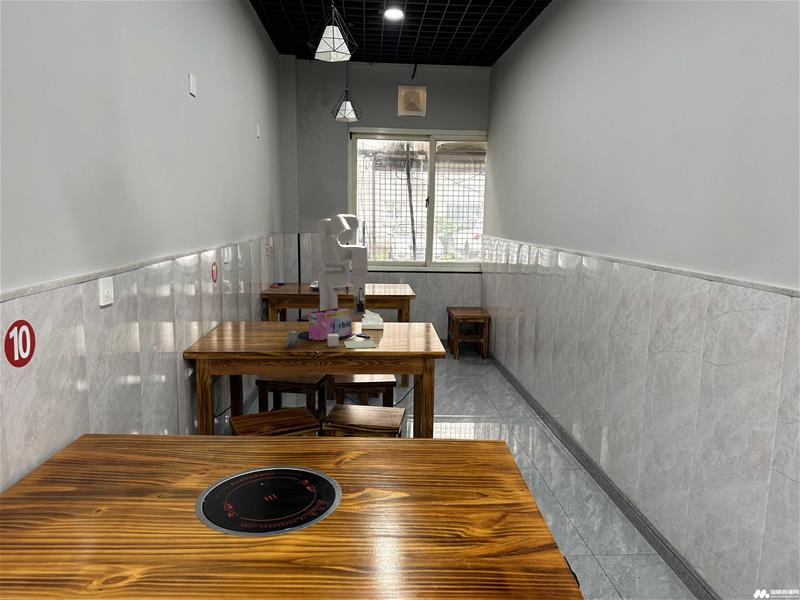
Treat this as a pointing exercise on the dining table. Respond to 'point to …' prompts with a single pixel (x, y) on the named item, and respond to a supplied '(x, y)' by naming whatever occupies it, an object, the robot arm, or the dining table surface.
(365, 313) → the walnut block
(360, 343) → the sage mat
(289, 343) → the metal tin
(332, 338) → the grey block
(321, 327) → the gum box
